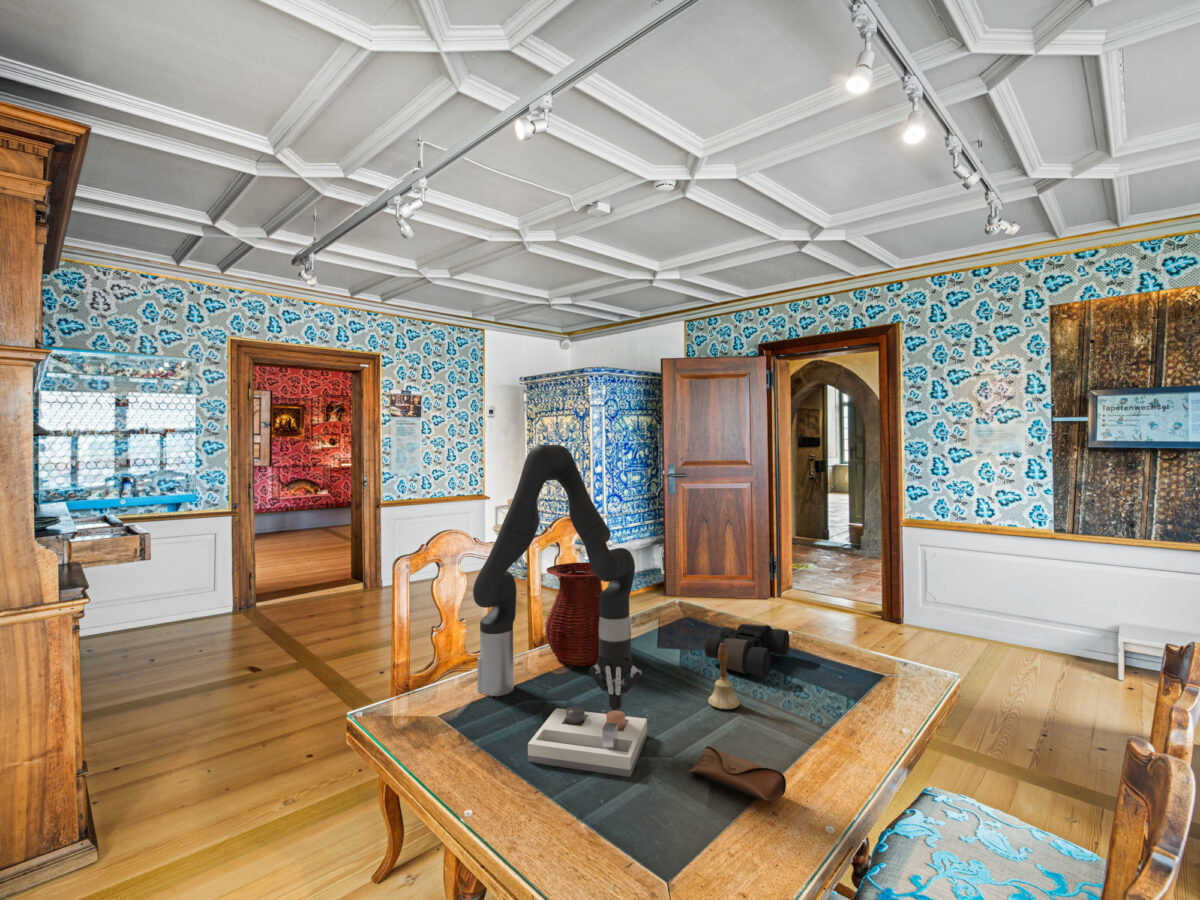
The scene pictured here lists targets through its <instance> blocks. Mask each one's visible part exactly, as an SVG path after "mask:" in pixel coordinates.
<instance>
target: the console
mask: <svg viewBox="0 0 1200 900" xmlns="http://www.w3.org/2000/svg"><path fill="white" fill-rule="evenodd" d="M566 709H567V708H555V709H554V710H553V711H552V713H551V714H550V716H548V718H547V719H546V720H545V722H544V723H543V724H542V725H541V727H540V728H539V729H538V730H537V732H535V734H534V735H533V737H532V738H531V739H530V740H529V741H528V743H527V762H529V763H535V764H539V765H540V764H541V765H547V766H553V767H559V768H566V769H574V770H580V771H587V772H595V773H600V774H608V775H613V776H621V777H627V778H631V776H632V774H633V772H634V769H635V767H636V764H637V762H638V759H639V757H640V755H641V752H642V749H643V747H644V745H645V743H646V739H647V737H648V719H647V718H644V717H635V716H626V715H625V728H624V729H622V730H618V750H617V751H615V750H608V749H603V741H602V731H603V729H604V727H605V725H606V714H607V713H603V712H602V713H599V712H592V711H584V720H585V721H584V723H583V724H580V725H569V724H567V723H566Z"/></svg>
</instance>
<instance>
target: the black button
mask: <svg viewBox="0 0 1200 900" xmlns="http://www.w3.org/2000/svg"><path fill="white" fill-rule="evenodd" d="M565 709H566V723H567V724H569V725H580V724H583V723H584V721H585V720H584V712H585V708H584V707H583V706H580V705H573V706H571V705H570V706H568V707H567V708H565Z"/></svg>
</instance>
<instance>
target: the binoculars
mask: <svg viewBox="0 0 1200 900" xmlns="http://www.w3.org/2000/svg"><path fill="white" fill-rule="evenodd" d="M720 643H725V646H726V649H727V653H728V660H727V664H726V670H727V669H728V670H731V671H734V672H736V673H737V672H738V673H741V674H745V675H748V676H749V675H751V674H754V675H756V676H761V677H768V676H769V673H770V670H771V666H772V654H771V653H773V654H776V655H780V656H787V655H788V652H789V648H790V633H789V631H788V630H786V629H782V628H772V626H770V625H764V624H754V623H753V624H752V623H751V624H750V623H749V624H748V623H741V624H740V625H738V627H737V628H736V629H735V628H732V627H728V626H722V627H721V628H720V630H719V635H718V637H713V636H708V637H707V638H706V639H705V644H704V654H705V656H706V657H707V658H709V659H711V658H712V659H717V660H718V650H719V647H720Z"/></svg>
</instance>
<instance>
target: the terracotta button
mask: <svg viewBox="0 0 1200 900" xmlns="http://www.w3.org/2000/svg"><path fill="white" fill-rule="evenodd" d="M605 714H606V724H607V722H609V723H617V724H618V730H622V729H624V728H625V716H626V713H625V712H624V711H621V710H618V711H616V710H611V711H608V712H607V713H605Z"/></svg>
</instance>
